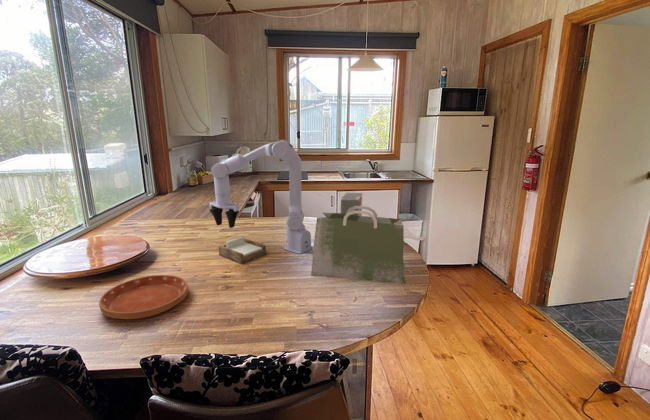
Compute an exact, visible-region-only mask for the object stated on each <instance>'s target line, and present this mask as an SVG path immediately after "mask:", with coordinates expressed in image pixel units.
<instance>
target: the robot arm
mask: <svg viewBox="0 0 650 420" xmlns="http://www.w3.org/2000/svg"><path fill="white" fill-rule="evenodd" d="M264 156H267V157H268V156H269V157H272V156H274V157H275V158H277V159H279V160H281V161H283V162H284V163H285V164H287V165H288V167H289V172H288V173H289V181H288V182H289V183H288V185H289V188H288V189H289V208H288V217H287V219H286V225H287V226H286V236H287V237H286V239H287V245H286V246H284V247H283V248H282V249H283V250H286V251H289V252H292V253H295V254H298V255H301V254H304V253H305V252H308V251H310V250H312V249H313V247H312V233H311V232H310V231H309V230H307V228H305V227H306V226H305V224H304V223H303V222H304V219H305V214H304V213H303V210H302V209H303V205H302V158H301V157H300V155H299V154H298V151H296V149H295V148H294V145H292V144H291V143H290V142H289V141H288V140H285V139H280V140H278V141H273V142H270V143H266V144H264V145H261V146H260V147H258V148H256V149H253V150H251V151H250V152H248V153H245V154H241V153H233V154H232V156H231V157H229V158H226V159H225V158H223V159H221V162H217V163H215V164H214V165H212V167H211V169H210V171H211V172H210V173H211V175H212V176H213V182H214V183H213V184H214V186H213V187H214V196H215V201H210V202H209V203H208V204H209V208H210V209H209V212H210V214H211V215H212V216H213V218H214V221H215V224H216V226H220V225H223V210H226V211H225V212H224V213H225V215H226V217H227V222H228V227H229V229H232V228H234V227H235V226H236V225H235V224H236V220H237V217H238V215H239V212H240V205H238V204H235V203H233V202H232V198H231V186H230V185H231V184H230V176H229V175H230V174H234V173H236V172H238V171H240V170H242V169H243V170H244V169H245V168H246V167H247V164H248V163H249V162H251V161H255V160H256V159H258V158H261V157H264Z"/></svg>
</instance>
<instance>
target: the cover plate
mask: <svg viewBox="0 0 650 420" xmlns="http://www.w3.org/2000/svg"><path fill="white" fill-rule="evenodd" d="M244 238H245V236H239V237H236V238H233V239H230V240H227V241H225V245H226V248H229V249H232V250H234V251H237V252H239V253H242V254H243V257H244V256H247V255H249V254H252V253H255V252H257V251H260V250H262V248H261V247H258V246H255V245H252V244H249V243H246V242H245V240H244Z"/></svg>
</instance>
